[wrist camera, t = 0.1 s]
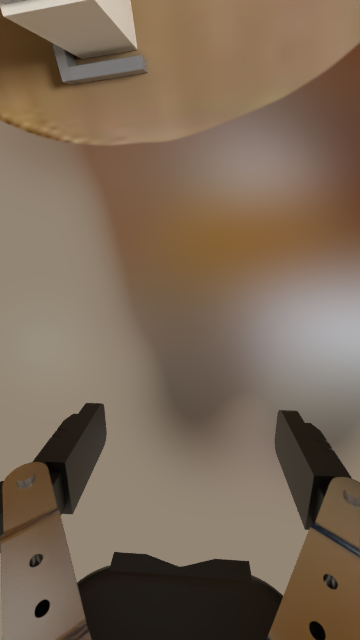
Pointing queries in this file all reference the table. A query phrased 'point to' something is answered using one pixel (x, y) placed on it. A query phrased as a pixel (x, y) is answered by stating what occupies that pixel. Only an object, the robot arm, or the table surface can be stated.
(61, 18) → the box
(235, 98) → the table surface
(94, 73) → the dock
